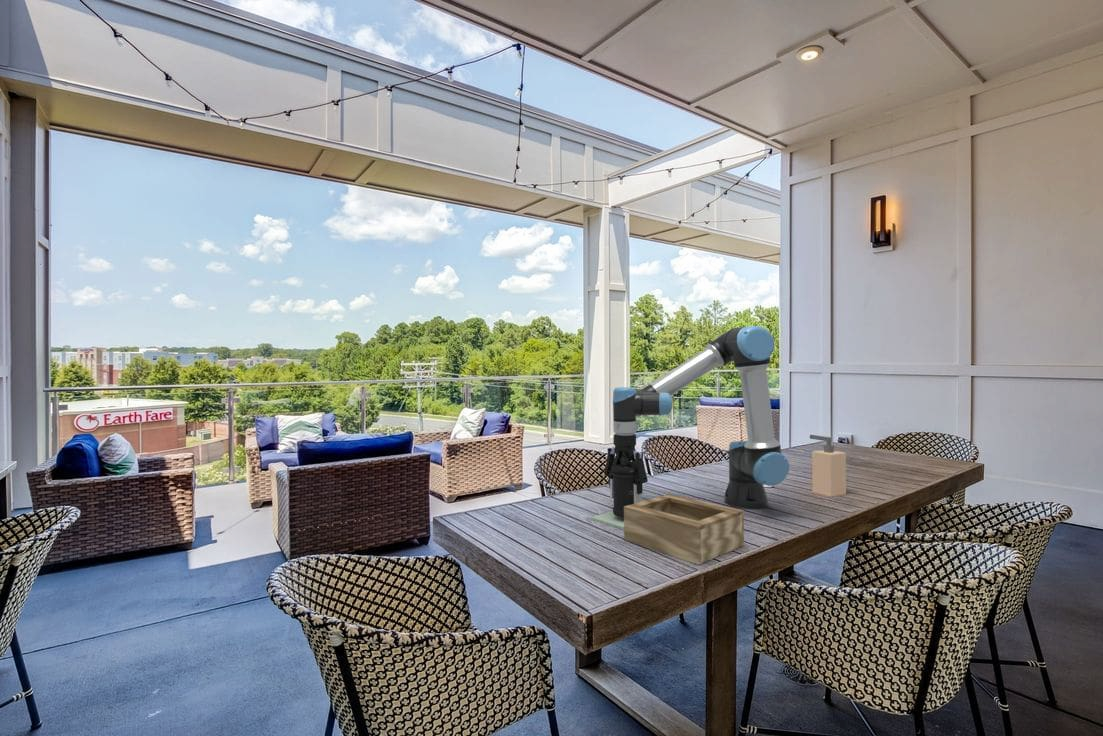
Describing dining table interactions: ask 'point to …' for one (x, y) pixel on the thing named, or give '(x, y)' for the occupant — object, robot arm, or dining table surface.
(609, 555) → the dining table surface
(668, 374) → the robot arm
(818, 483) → the soap dispenser
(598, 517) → the board
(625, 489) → the black shaker bottle
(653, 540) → the crate
